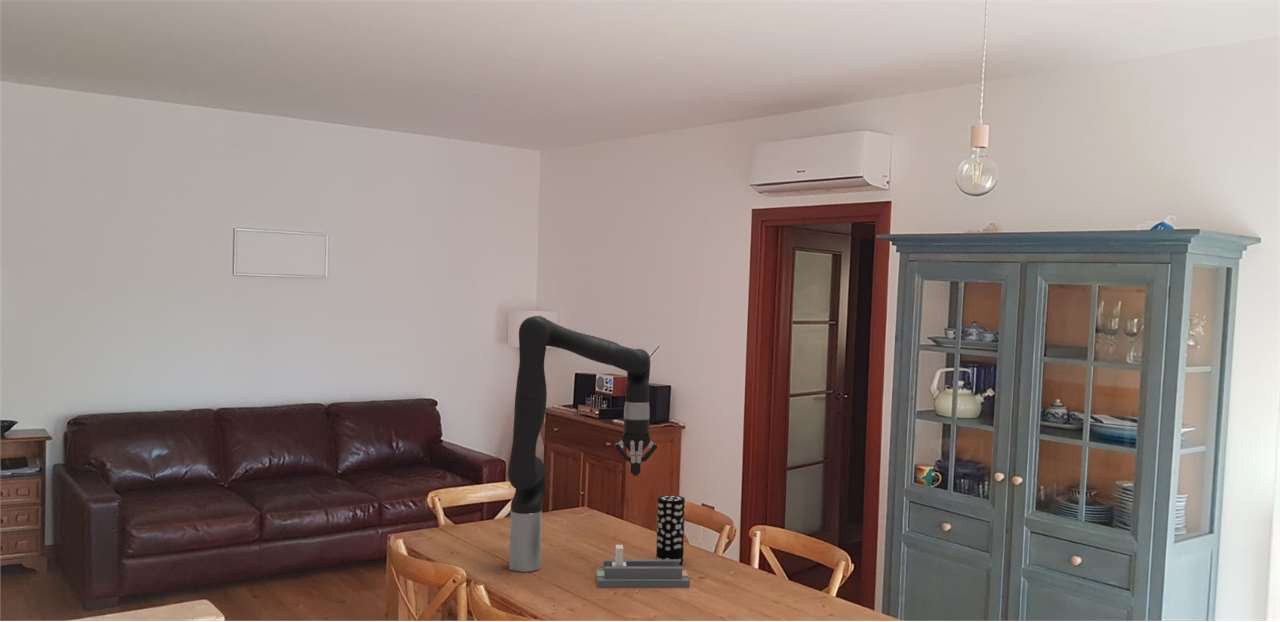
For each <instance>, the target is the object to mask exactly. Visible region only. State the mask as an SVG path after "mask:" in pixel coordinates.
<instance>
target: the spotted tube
mask: <svg viewBox="0 0 1280 622" xmlns="http://www.w3.org/2000/svg"><path fill="white" fill-rule="evenodd" d="M685 499H686V498H685V497H684V496H680V495H673V494H672V495H671V494H670V495H660V496H658V497H657V517H656V519H657V520H656V556H655V557H656V559H679V566H681V567H682V566H683V564H684V552H685V551H684V550H685V549H684V546H685V545H684V542H685V510H686V508H685V506H686V505H685V501H686V500H685Z"/></svg>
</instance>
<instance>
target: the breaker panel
mask: <svg viewBox="0 0 1280 622" xmlns="http://www.w3.org/2000/svg"><path fill="white" fill-rule="evenodd" d="M612 562H615V558H614V559H611V558H610V559H607V558H606V559H603V563H602V564H603V567H596V568H595V572H596V573H595V574H596V577H595V578H596V585H597V589H611V588H612V589H618V588H619V589H622V588H623V589H624V588H625V589H641V588H643V589H649V588H651V589H655V588H656V589H663V588H664V589H665V588H667V589H669V588H670V589H675V588H676V589H677V588H678V589H679V588H681V589H683V588H685V589H689V588H690V587H691V586H690V585H691V583H690V578H689V575H688V573H687V570H686V568H685V567H683V566H682V565H681V566H679V559H655V558H654V559H649V558H648V559H646V558H645V559H643V558H641V559H640V558H639V559H637V558H636V559H635V558H633V559H632V558H631V559H629V558H628V559H627V558H626V559H624V558H623V562H626V566H612Z"/></svg>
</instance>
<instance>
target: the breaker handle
mask: <svg viewBox="0 0 1280 622" xmlns="http://www.w3.org/2000/svg"><path fill="white" fill-rule="evenodd" d="M623 545H624V544H615V557H614V559H615V562H612V566H626V562H623V559H624V546H623Z"/></svg>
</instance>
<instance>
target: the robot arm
mask: <svg viewBox="0 0 1280 622" xmlns="http://www.w3.org/2000/svg"><path fill="white" fill-rule="evenodd" d="M518 343H519V344H518V345H519V347H518V349H519V352H518V353H519V354H518V355H519V361H518V362H519V363H518V365H519V366H518V373H517V379H516V387H515V395H514V396H515V398H514V415H513V417H514V418H513V432H512V445H511V451H510V456H509V462H508V463H509V464H508V468H507V476H508V481H509V483H510V485H511V487H513V488H514V489H515V492H514V496H513V498H512V499H511V502H510V529H509V531H510V535H509V551H508V552H509V559H508V570H509V571H515V572H520V573H521V572H523V573H525V572H527V573H528V572H534V571H538V570H539V569H541V567H542V566H541V565H542V564H541V563H542V524H543V523H542V522H543V521H542V519H543V517H542V515H543V504H544V500H545V492H546V491H545V489H546V467H545V464H544V462H543V460H542V459H541V458H539V456H537V455H536V454H537V453H536V451H537V442H538V439H539V435H540V433H541V430H542V427H543V424H544V422H545V421H544V420H545V418H546V411H547V410H546V409H547V399H548V397H547V396H548V395H547V394H548V392H547V391H548V390H547V381H546V380H547V379H546V374H545V373H546V372H545V358H546V351H547V347H549V348H550V347H551V348H558V349H560V350H565V351H567V352H571V353H573V354H575V355H578V356H580V357H583V358H585V359H587V360H591V361H593V362H596V363H600V364H603V365H608V366H612V367H614V368H617V369H620V370H622V371H625V372H626V375H627V377H626V379H627V380H626V385H625V390H624V392H625V394H624V395H625V397H624V398H625V400H624V401H625V402H624V407H623V435H622V437H621V440H620V441H618V442H615V444H614V447H615V448H616V449H617V451H618V453H619V454H620V455H621V456H622V458H624V459H623V460H625V461H626V462H629V463H630V471H629V472H630V474H631V475H632V476H633V477H639V475H640V473H641V464H642V463H643V462H646V461H647V460H648V459H649V458H651V456H652V454H653V453H654V452H655V451H656V449H658V444H656V443H655V442H653V441H652V439H651V436H650V416H651V415H650V411H651V410H650V384H649V382H650V373H651V356H650V354H649V353H648V352H647V351H646V350H645V349H643V348H636V349H635V348H631V347H628V346H624V345H620V344H619V343H618V342H615V341H613V340H612V341H611V340H608V339H605V338H601V337H598V336H594V335H590V334H586V333H583V332H578V331H576V330H573V329H569V328H566V327H564V326H562V325H560V324H557V323H555V322H553V321H551V320H549V319H548V318H546V317H544V316H541V315H533V316H529V317H528V318H525V319H524V320H523V321H522V322H521V324H520V326H519V329H518ZM624 445H625V448H626V449H627V450H628V451H629V454H630V456H629V455H628V454H627V453H626V451H625V450H624ZM647 447H648V450H647V451H646V452H645V453H644V454H643V452H644V450H645V449H646V448H647ZM642 455H643V456H642Z"/></svg>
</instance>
